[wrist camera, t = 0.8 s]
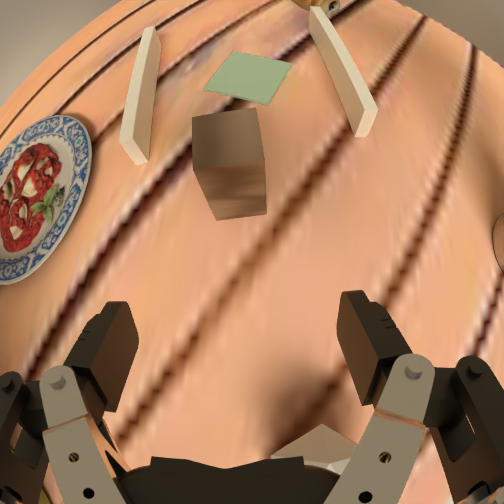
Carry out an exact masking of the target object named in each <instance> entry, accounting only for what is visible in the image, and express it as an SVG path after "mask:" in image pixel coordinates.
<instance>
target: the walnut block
mask: <svg viewBox="0 0 504 504" xmlns="http://www.w3.org/2000/svg"><path fill="white" fill-rule="evenodd" d="M192 152H193V171H194V173H195V175H196V177H197V180H198V182H199V184H200V186H201V188H202V190H203V193H204V195H205V197H206V199H207V201H208V203H209V206H210V208H211V210H212V212H213V214H214V216H215V219H216V221H218V220H226V219H233V218H241V217H249V216H256V215H264V214H267V211H266V184H265V159H264V153H263V147H262V141H261V135H260V129H259V123H258V118H257V112H256V108H249V109H241V110H234V111H227V112H220V113H214V114H208V115H202V116H196V117H192Z"/></svg>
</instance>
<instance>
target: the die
mask: <svg viewBox="0 0 504 504" xmlns="http://www.w3.org/2000/svg"><path fill="white" fill-rule="evenodd" d="M357 446H358V444H357V443H355V442H353V441H351V440H349V439H348V438H346V437H344V436H343V435H341V434H339V433H337V432H336V431H334V430H332V429H331V428H329V427H327V426H326V425H324V424H320V425H319V426H317V427H316V428H314V429H313V430H311V431H309V432H308V433H306V434H305V435H303V436H301V437H300V438H298V439H296V440H295V441H293V442H291V443H290V444H288V445H286V446H285V447H283V448H282V449H280V450H278V451H277V452H275V453H274V454H272V455H271V459H277V458H288V457H298V456H303V459H304V465H313V466H318V467H322V468H325V469H328V470H331V471H333V472H335V473H337V474H339V475H341V474H342V473H343V471H344V469H345V467H346V466H347V464H348V462H349V460H350V459H351V457H352V455H353V453H354V451H355V449H356V447H357Z"/></svg>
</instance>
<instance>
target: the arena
mask: <svg viewBox="0 0 504 504" xmlns="http://www.w3.org/2000/svg"><path fill="white" fill-rule="evenodd" d="M308 30H309V32H310V34H311V36H312V38H313V40H314V42H315V44H316V46H317V48H318V50H319V52H320V54H321V57H322V59H323V61H324V63H325V65H326V67H327V70H328V72H329V74H330V76H331V79H332V81H333V83H334V86H335V88H336V90H337V93H338V95H339V98H340V100H341V103H342V105H343V108H344V110H345V113H346V115H347V118H348V121H349V123H350V126H351V129H352V132H353V134H354V137H367V135H368V133H369V131H370V129H371V126H372V124H373V122H374V119H375V117H376V114H377V112H378V108H377V106H376V104H375V102H374V100H373V98H372V96H371V94H370V91H369V89H368V87H367V85H366V83H365V81H364V80H363V78H362V76H361V74H360V72H359V70H358V68H357V66H356V64H355V63H354V61H353V59H352V57H351V55H350V54H349V52H348V50H347V48H346V47H345V45H344V43H343V42H342V40H341V38H340V37H339V35H338V33H337V32H336V30H335V29H334V27H333V25H332V24H331V22H330V21H329V19H328V18H327V16H326V15H325V13H324V12H323V10H322V9H321V7H316V6H310V14H309V26H308ZM161 52H162V46H161V43H160V40H159V37H158V35H157V32H156V29H155V26H151V27H147V28H145V29H144V32H143V35H142V39H141V42H140V46H139V49H138V53H137V56H136V60H135V64H134V68H133V72H132V76H131V81H130V85H129V90H128V94H127V99H126V104H125V109H124V114H123V120H122V126H121V132H120V138H119V143H120V144H121V145H122V147H123V148H124V149H125V151H126V152H127V154H128V155H129V156H130V158H131V159H132V160H133V162H134V163H135V164H136V165H140V164H145V163H149V150H150V138H151V127H152V117H153V108H154V99H155V91H156V84H157V77H158V70H159V64H160V58H161Z"/></svg>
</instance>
